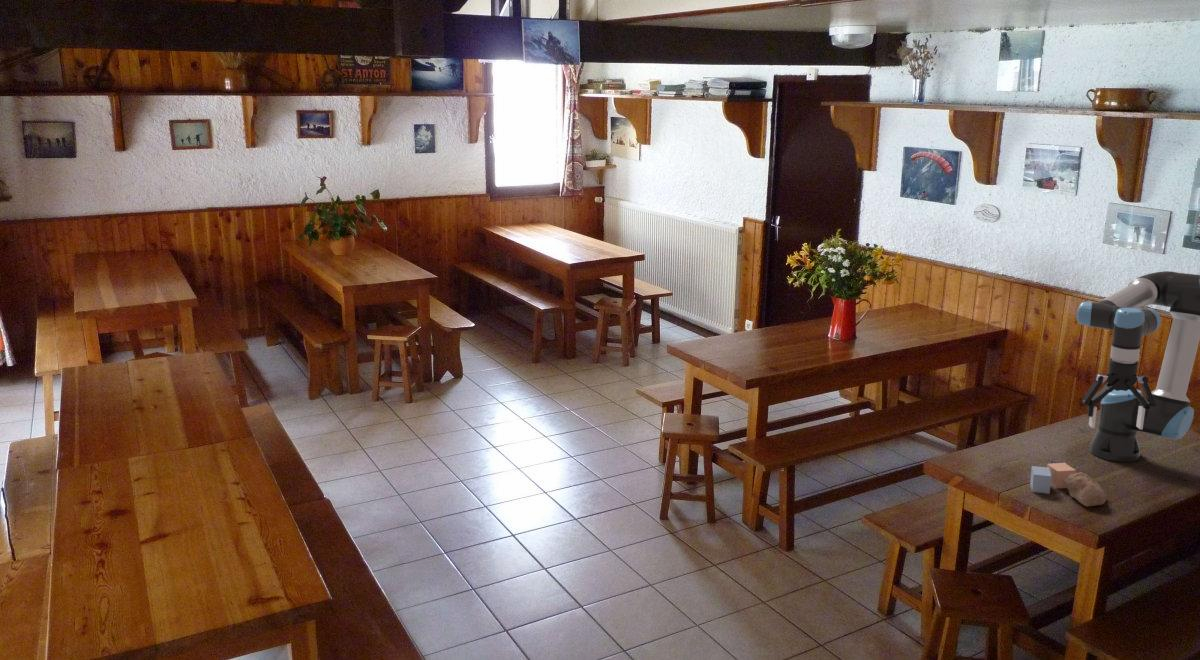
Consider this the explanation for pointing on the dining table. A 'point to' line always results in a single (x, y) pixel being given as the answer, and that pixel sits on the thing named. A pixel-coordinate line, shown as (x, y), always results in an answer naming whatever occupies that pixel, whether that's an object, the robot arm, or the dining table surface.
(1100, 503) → the stone
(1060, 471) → the terracotta block
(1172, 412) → the robot arm
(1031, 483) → the slate block
